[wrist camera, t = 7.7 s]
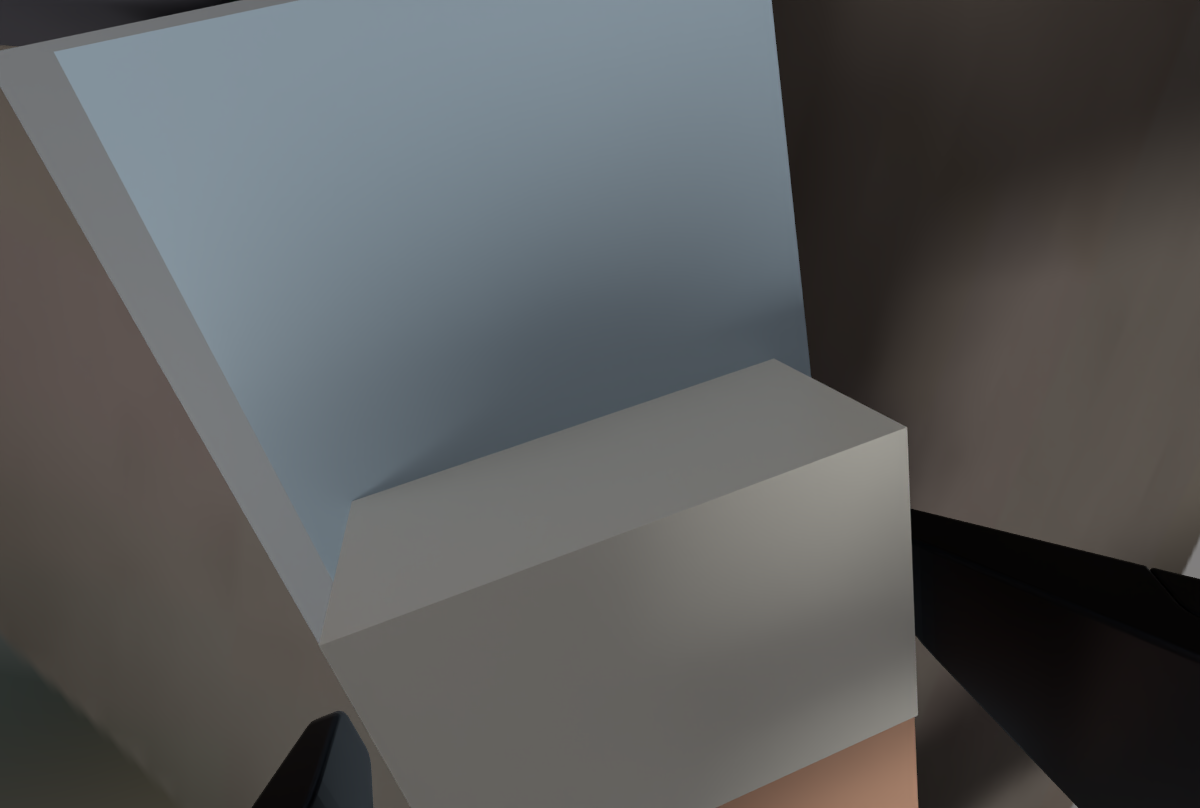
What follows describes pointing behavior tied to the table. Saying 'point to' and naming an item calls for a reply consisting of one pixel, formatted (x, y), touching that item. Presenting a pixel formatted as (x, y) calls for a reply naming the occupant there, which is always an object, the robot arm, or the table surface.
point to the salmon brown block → (849, 777)
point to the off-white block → (636, 603)
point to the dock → (160, 292)
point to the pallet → (457, 217)
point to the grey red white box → (81, 16)
